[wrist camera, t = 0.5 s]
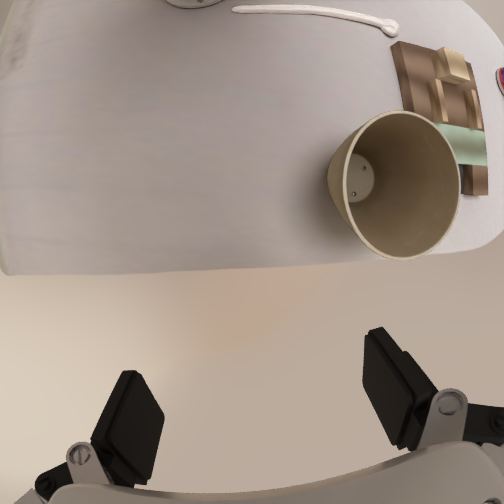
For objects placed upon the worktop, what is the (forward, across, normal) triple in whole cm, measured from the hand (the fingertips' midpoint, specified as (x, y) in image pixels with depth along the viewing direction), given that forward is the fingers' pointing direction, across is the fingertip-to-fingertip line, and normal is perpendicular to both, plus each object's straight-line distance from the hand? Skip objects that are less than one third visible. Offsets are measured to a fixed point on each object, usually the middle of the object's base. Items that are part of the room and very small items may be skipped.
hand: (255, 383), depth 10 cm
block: (+28, -38, -22) cm, 52 cm away
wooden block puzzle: (+31, -37, -13) cm, 50 cm away
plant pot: (+31, -17, -4) cm, 35 cm away
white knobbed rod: (+31, -18, -32) cm, 48 cm away
